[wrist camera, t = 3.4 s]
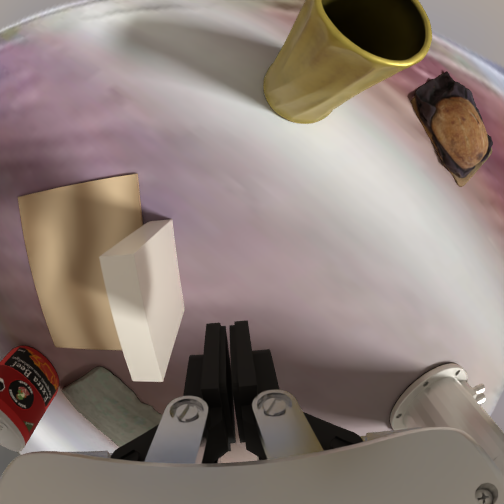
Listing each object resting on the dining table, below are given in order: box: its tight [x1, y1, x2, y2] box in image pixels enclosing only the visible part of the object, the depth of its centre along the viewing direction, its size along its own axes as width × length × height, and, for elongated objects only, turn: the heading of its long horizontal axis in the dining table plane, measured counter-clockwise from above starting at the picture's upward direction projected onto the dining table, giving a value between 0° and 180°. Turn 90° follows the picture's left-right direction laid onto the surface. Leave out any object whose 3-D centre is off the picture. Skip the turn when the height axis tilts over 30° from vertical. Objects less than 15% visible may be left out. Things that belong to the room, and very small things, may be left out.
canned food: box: [0, 346, 59, 452], centre depth 22 cm, size 8×8×11 cm
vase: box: [263, 0, 432, 124], centre depth 15 cm, size 6×6×14 cm
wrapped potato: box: [411, 72, 493, 187], centre depth 21 cm, size 11×8×4 cm
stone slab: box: [62, 367, 163, 447], centre depth 30 cm, size 22×3×10 cm
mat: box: [18, 174, 143, 350], centre depth 24 cm, size 13×16×1 cm
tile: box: [99, 219, 185, 382], centre depth 20 cm, size 2×8×10 cm, turn 3°
